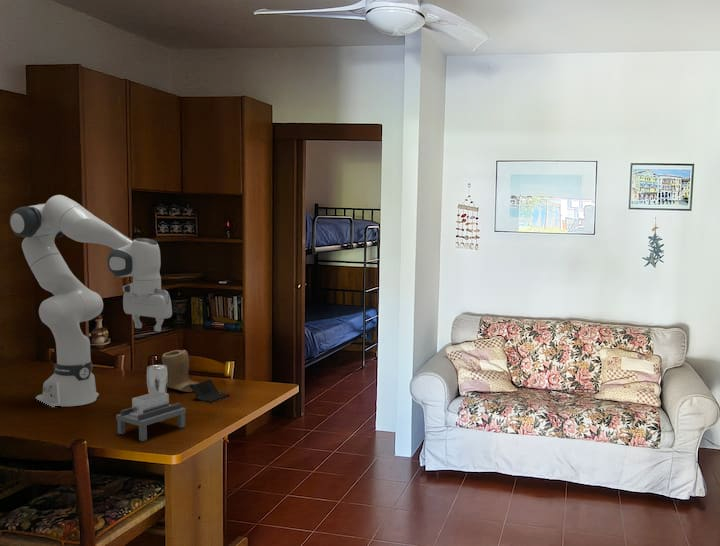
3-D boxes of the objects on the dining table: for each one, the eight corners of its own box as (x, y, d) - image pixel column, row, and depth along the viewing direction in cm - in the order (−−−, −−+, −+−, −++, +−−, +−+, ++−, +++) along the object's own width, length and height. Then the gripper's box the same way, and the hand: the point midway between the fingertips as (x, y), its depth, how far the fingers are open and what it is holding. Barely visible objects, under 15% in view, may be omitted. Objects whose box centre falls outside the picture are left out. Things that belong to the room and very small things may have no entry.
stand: (116, 434, 215) (116, 410, 215) (160, 420, 229) (159, 397, 229) (142, 441, 209) (142, 416, 208) (185, 426, 223) (185, 403, 222)
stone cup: (156, 388, 269) (156, 349, 268) (184, 383, 277) (183, 345, 276) (177, 396, 258) (176, 356, 257) (205, 390, 267) (204, 351, 265)
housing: (162, 405, 225) (162, 389, 225) (172, 408, 222) (172, 392, 222) (128, 415, 214) (127, 398, 214) (138, 418, 212) (138, 401, 211)
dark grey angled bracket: (216, 399, 249) (202, 375, 251) (201, 410, 250) (188, 386, 253) (232, 396, 260) (218, 373, 262) (217, 406, 261) (204, 383, 264)
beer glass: (146, 408, 243) (145, 365, 242) (166, 406, 246) (166, 363, 244) (148, 413, 237) (147, 369, 235) (169, 411, 239) (169, 368, 238)
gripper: (176, 289, 227) (177, 331, 229) (134, 284, 239) (135, 325, 240) (161, 291, 222) (161, 334, 223) (119, 286, 233) (120, 327, 235)
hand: (147, 329), depth 232 cm, fingers open, 8 cm apart
